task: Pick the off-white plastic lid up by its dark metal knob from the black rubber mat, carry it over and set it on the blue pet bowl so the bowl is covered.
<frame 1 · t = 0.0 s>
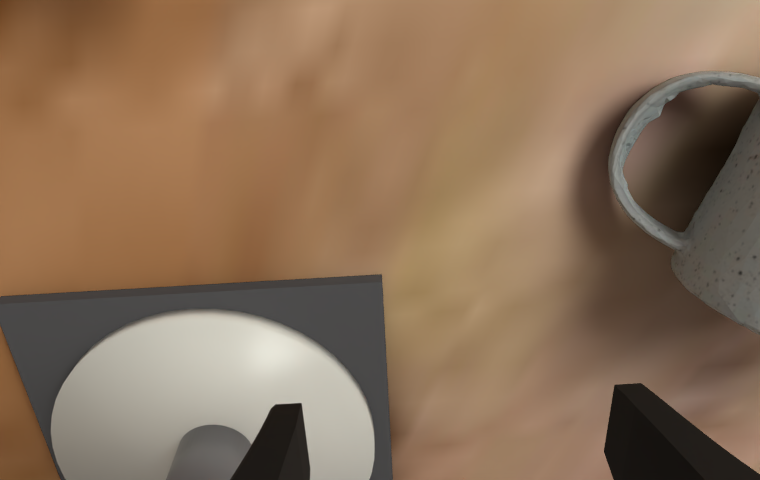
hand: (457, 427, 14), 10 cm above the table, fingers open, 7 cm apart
rubber mat: (222, 429, 27), on the table
white lid: (220, 439, 26), point 1 cm above the table, touching rubber mat
ceramic mug: (732, 168, 22), on the table
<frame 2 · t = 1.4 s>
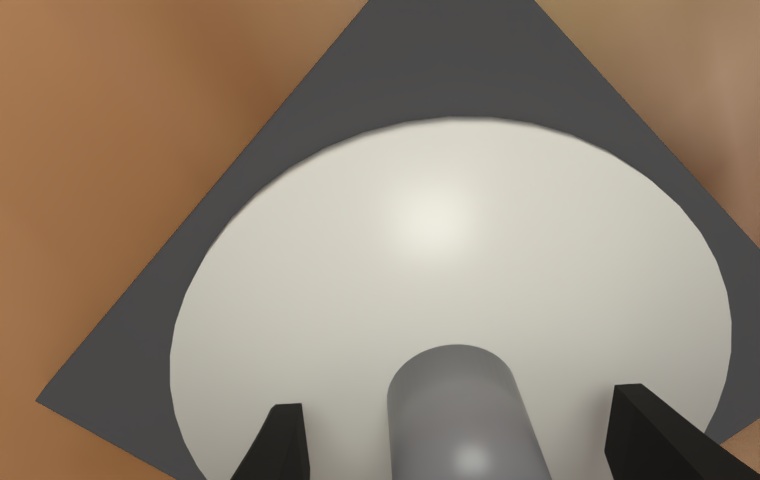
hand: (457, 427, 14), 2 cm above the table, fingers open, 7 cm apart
rubber mat: (444, 362, 16), on the table
white lid: (447, 376, 15), point 1 cm above the table, touching rubber mat
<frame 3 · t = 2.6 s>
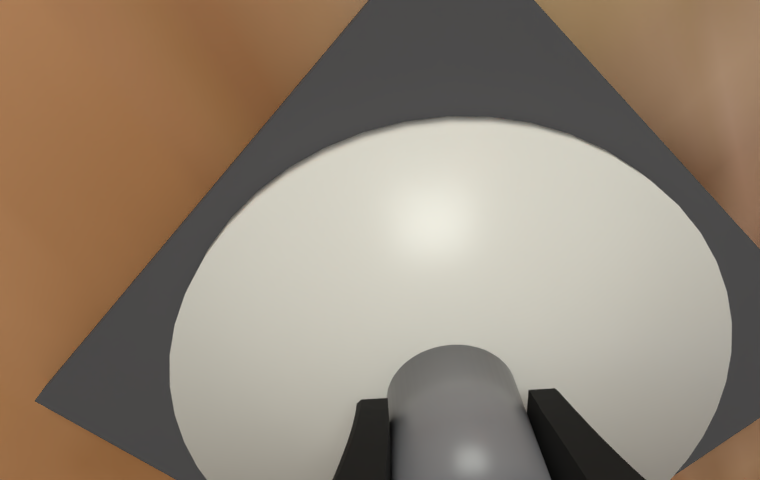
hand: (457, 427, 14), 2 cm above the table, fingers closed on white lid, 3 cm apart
rubber mat: (444, 362, 16), on the table
white lid: (447, 377, 15), point 1 cm above the table, touching gripper, rubber mat
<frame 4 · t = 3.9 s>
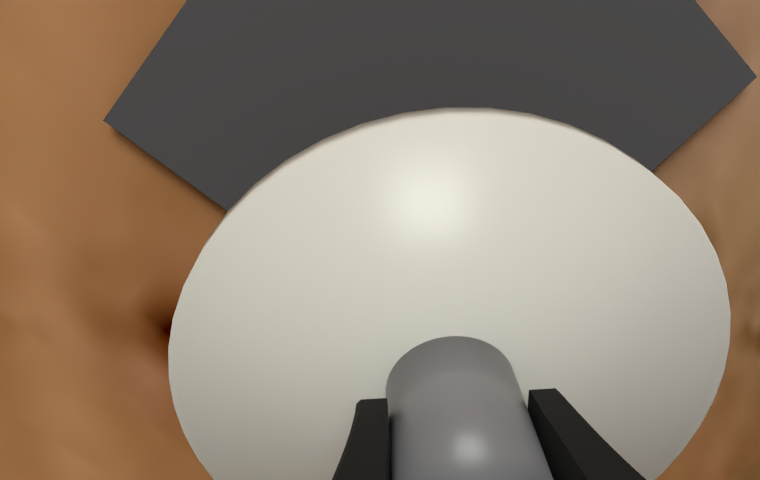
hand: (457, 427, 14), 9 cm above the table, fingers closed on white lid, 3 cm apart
rubber mat: (428, 94, 20), on the table
white lid: (446, 368, 15), point 7 cm above the table, touching gripper
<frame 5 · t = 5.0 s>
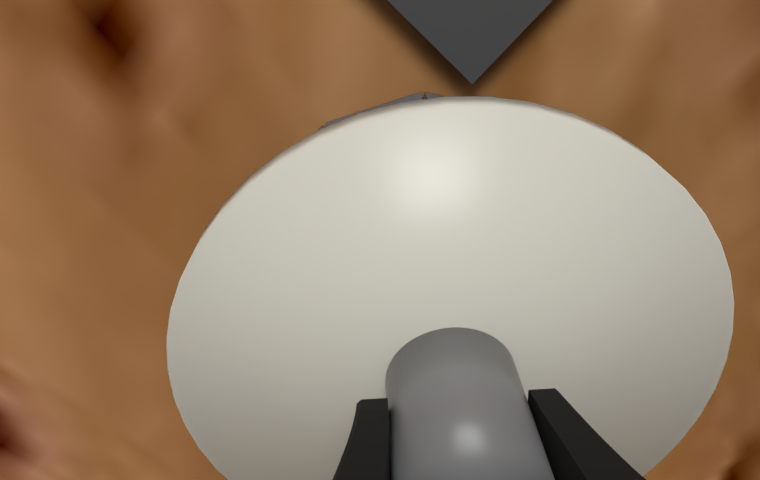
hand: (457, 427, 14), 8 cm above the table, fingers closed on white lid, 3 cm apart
white lid: (446, 357, 15), point 6 cm above the table, touching gripper
blue pet bowl: (424, 268, 21), on the table
when the fingers open (8 cm above the table, at t = 5.7 s): white lid stays where it is, resting on blue pet bowl.
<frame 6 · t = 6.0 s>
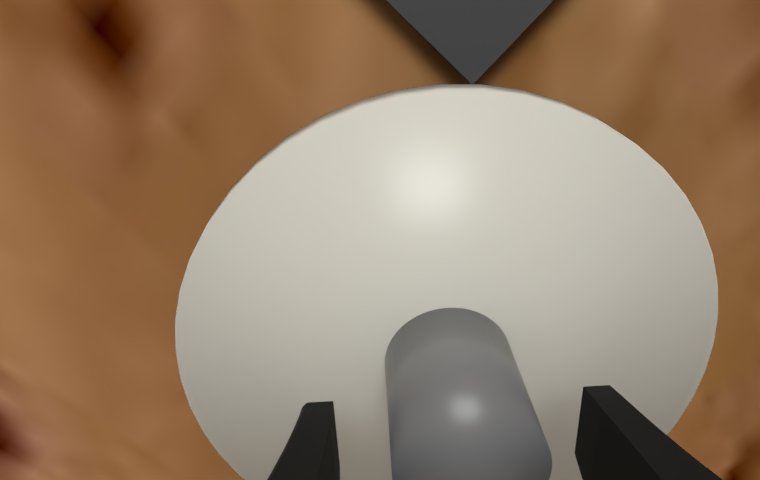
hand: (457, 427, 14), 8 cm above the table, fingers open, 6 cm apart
white lid: (443, 342, 16), point 5 cm above the table, touching blue pet bowl
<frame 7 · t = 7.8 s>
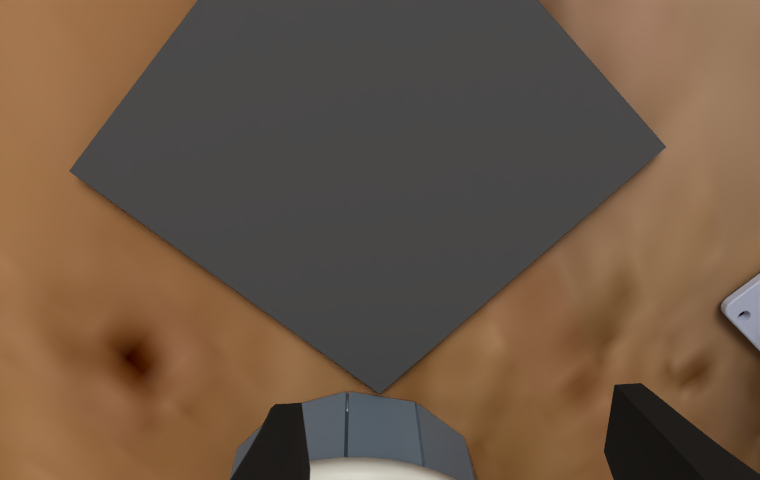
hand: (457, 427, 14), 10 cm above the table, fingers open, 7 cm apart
rubber mat: (369, 153, 21), on the table
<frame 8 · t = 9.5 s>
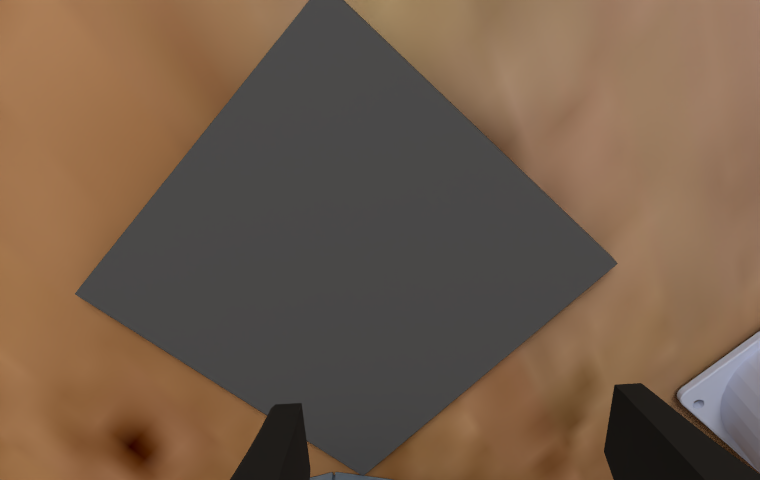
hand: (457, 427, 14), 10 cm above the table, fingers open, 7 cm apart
rubber mat: (347, 271, 24), on the table
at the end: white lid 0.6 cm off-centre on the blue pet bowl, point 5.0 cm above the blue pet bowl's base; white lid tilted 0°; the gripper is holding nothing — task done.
